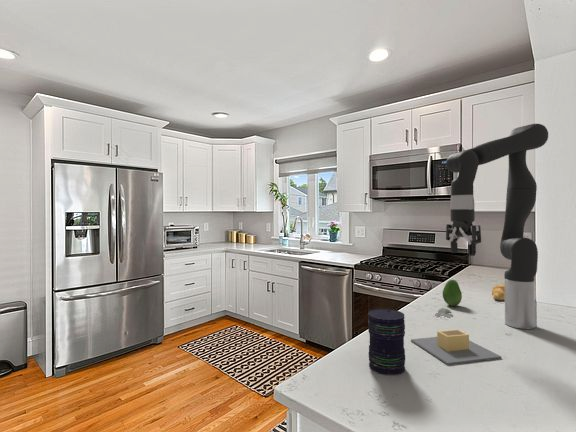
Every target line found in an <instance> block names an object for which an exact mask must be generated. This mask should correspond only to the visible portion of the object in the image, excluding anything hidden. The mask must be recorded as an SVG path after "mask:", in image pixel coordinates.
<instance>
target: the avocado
mask: <svg viewBox="0 0 576 432" xmlns="http://www.w3.org/2000/svg"><path fill="white" fill-rule="evenodd" d="M442 298H443V301H444V303H446V304H447V305H449V306H451V307H456V306H458V305H460V304H461V302H462V298H463V295H462V291H461V288H460V284H459V283H458V281H457V280H455V279H449V280H448V281H447V282H446V283H445V285H444V287H443V289H442Z"/></svg>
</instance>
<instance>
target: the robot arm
mask: <svg viewBox="0 0 576 432" xmlns="http://www.w3.org/2000/svg"><path fill="white" fill-rule="evenodd" d="M548 139H549V131H548V128H547V127H546V126H545V124H541V123H532V124H527V125H522V126H519V127H516V128H513V129H512V130H511V131H510V133H509V135H508V136H507V137H506V136H505V137H501V138H497V139H494V140H491V141H487V142H485V143H484V142H483V143H482V144H479V145H476V146H475V147H472V148H468V149H466V150H460V151H458V152H455V153H452V154H450V155H449V156H448V157H447V158H446V161H445V166H446V169H447V170H448V171H449V172H452V173H455V174H456V173H457V174H458V176H457V177H455V179H453V180H451V183H450V184H451V185H450V201H449V202H450V205H449V206H450V207H449V208H450V222H453V223H449V224H446V228H445V229H446V230H445V240H446V241H448V242H449V243H450V252H451V253H452V254H456V253H458V242H459V239H461V238H464V239H465V240H466V242H467V244H468V245H467V248H468V249H467V255H468V256H469V257H470V256H471V257H472V256H473V257H474V256H475V255H476V254H477V244H481V243H482V234H481V233H482V232H481V231H482V230H481V225H478V224H477V225H476V224H475V225H473V222H475V217H476V216H475V198H474V183H475V180H476V175H477V172H478V168H479V166H481V165H485V164H488V163H491V162H493V161H496V160H498V159H501V158H504V157H507V156H508V157H507V158H508V169H507V170H508V171H507V172H508V174H507V177H508V178H507V186H506V196H505V198H506V199H505V213H504V224H503V230H502V233H501V234H502V235H501V239H500V244H499V249H500V250H499V251H500V253H501V255H502V256H503V258H505V259H507V260H508V261H509V260H510V267H509V269H507V270H505V271H504V275H503V276H504V284H505V300H504V324H505V325H507V326H509V327H512V328H515V329H523V330H533V329H535V328H536V327H538V326H537V325H538V321H537V319H538V315H537V313H538V312H537V308H538V307H537V305H538V301H537V300H535V277H536V275H537V272H538V260H539V251H538V246H537V243H536V242H535V241H534V240H533V239H531V238H528V237H524V231H525V226H526V225H525V224H526V222H527V220H528V218H529V216H530V214H531V213H532V211H533V209H534V207H535V204H536V200H537V191H538V190H537V189H538V186H537V183H536V180H535V177H534V176H533V175H532V172H531V171H530V170H529V168H528V165H527V151H530V150H536V149H538V148H541V147H542V146H545V144H546V143H547V141H548Z"/></svg>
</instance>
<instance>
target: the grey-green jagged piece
mask: <svg viewBox="0 0 576 432" xmlns="http://www.w3.org/2000/svg"><path fill="white" fill-rule="evenodd" d="M437 312H438V313H435V314H434V315H435V316H434V317H436V318H437V319H438V318H441V317H443V316H444V318H445V317H447V318H445V319H451V317H452V318H454V314H452V313H451V312H452V311H451V310H450V309H448V308H443V307H442V308H439V309H438V311H437ZM449 313H450V314H449ZM440 316H441V317H440ZM436 318H435V319H436Z"/></svg>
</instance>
